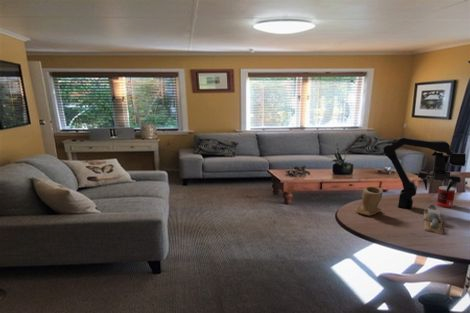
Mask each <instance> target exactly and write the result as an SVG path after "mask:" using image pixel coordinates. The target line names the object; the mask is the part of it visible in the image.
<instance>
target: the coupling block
mask: <svg viewBox="0 0 470 313" xmlns="http://www.w3.org/2000/svg"><path fill="white" fill-rule="evenodd" d="M427 211H428V212H427V221H430V222H431V220H430V219H431V218H432V217H437V218H438V219H440V217H441V211H440V210H439V209H436V210H433V209H428V208H427Z"/></svg>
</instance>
